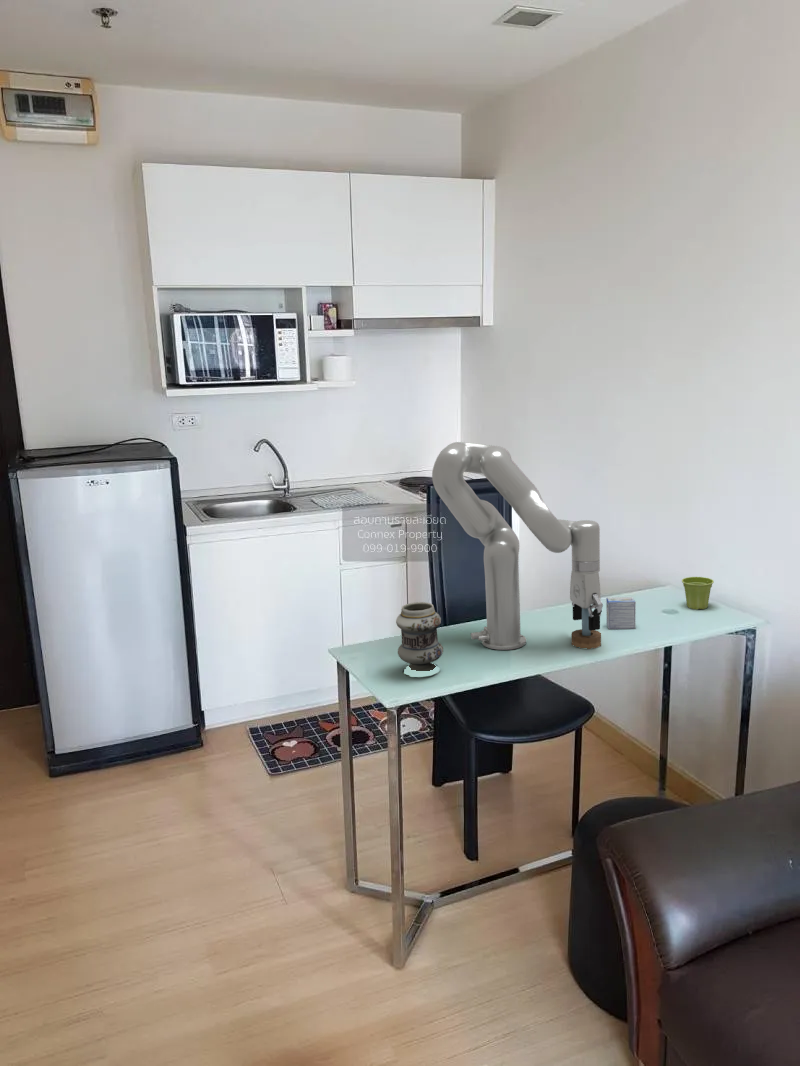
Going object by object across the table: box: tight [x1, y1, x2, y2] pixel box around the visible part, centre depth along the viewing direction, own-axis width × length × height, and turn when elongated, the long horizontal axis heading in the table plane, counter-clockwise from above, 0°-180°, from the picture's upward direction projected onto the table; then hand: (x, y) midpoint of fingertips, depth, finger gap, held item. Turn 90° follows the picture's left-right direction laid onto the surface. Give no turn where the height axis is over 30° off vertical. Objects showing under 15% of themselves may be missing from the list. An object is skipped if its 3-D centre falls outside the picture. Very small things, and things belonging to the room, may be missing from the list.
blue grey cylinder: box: [581, 608, 591, 636], centre depth 227 cm, size 2×2×12 cm
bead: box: [570, 628, 602, 650], centre depth 228 cm, size 8×8×3 cm
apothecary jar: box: [395, 601, 444, 671], centre depth 213 cm, size 12×12×18 cm
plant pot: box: [681, 576, 714, 610], centre depth 255 cm, size 9×9×9 cm
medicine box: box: [605, 596, 637, 630], centre depth 240 cm, size 8×4×9 cm, turn 84°
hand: (586, 624), depth 227 cm, fingers open, 9 cm apart
